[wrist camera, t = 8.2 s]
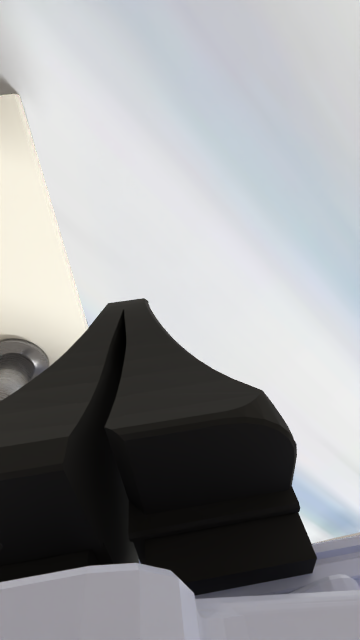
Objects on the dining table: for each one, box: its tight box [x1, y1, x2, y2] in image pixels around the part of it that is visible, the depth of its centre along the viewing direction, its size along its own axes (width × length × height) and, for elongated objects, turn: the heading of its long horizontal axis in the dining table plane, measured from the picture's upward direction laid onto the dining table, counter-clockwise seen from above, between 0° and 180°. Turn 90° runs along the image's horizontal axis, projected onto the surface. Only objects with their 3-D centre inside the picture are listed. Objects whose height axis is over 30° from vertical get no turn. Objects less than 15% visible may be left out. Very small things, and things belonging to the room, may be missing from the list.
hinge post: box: [0, 338, 49, 401], centre depth 19 cm, size 4×4×7 cm
